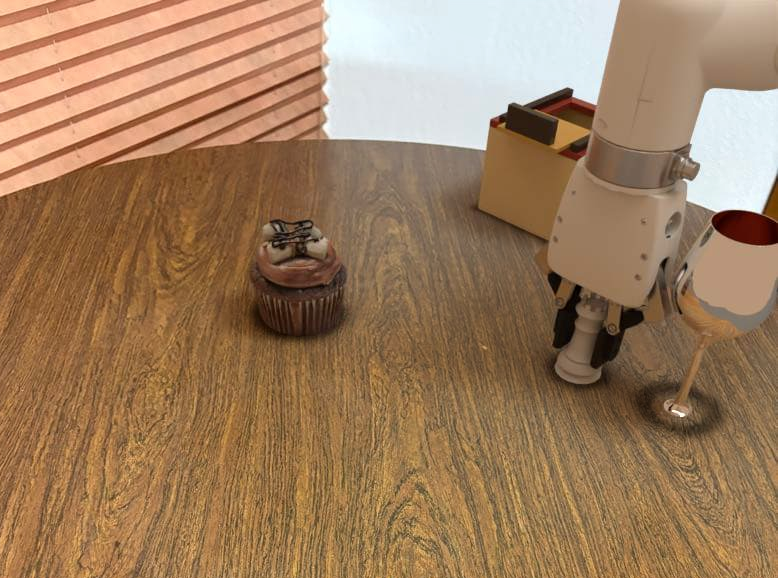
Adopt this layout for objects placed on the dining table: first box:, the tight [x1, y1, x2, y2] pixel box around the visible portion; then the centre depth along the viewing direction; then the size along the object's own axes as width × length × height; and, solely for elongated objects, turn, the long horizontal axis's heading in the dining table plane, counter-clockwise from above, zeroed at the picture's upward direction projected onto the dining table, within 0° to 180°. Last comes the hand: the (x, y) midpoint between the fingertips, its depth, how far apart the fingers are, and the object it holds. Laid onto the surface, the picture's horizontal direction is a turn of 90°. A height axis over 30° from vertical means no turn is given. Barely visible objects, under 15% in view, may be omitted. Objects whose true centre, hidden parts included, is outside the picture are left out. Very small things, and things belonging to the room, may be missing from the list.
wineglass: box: [663, 209, 778, 418], centre depth 73 cm, size 8×8×18 cm
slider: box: [497, 102, 591, 154], centre depth 93 cm, size 7×8×3 cm
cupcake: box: [248, 217, 349, 337], centre depth 83 cm, size 10×10×10 cm
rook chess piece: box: [554, 292, 609, 385], centre depth 80 cm, size 4×4×8 cm
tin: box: [477, 87, 597, 242], centre depth 100 cm, size 13×13×12 cm
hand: (582, 350), depth 81 cm, fingers open, 3 cm apart
